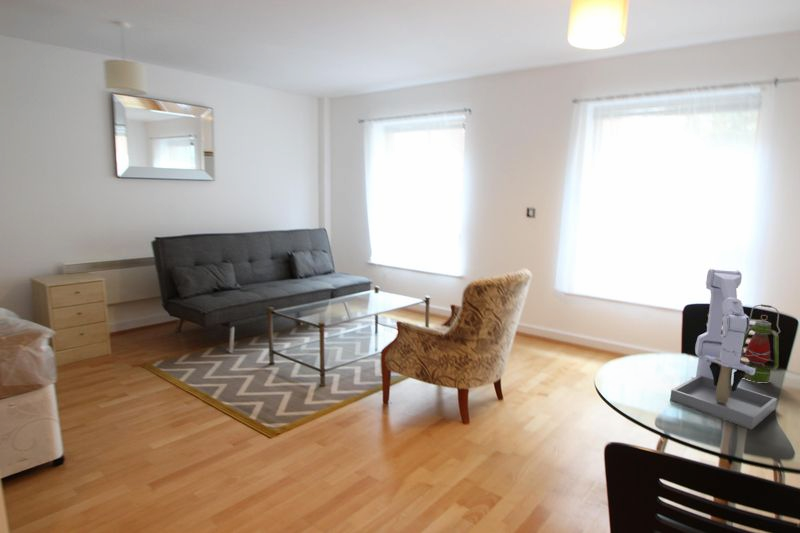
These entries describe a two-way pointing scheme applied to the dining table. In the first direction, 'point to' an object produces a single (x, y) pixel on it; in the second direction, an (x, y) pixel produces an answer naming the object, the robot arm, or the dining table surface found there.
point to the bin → (738, 409)
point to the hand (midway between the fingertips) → (724, 387)
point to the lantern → (761, 349)
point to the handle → (723, 384)
